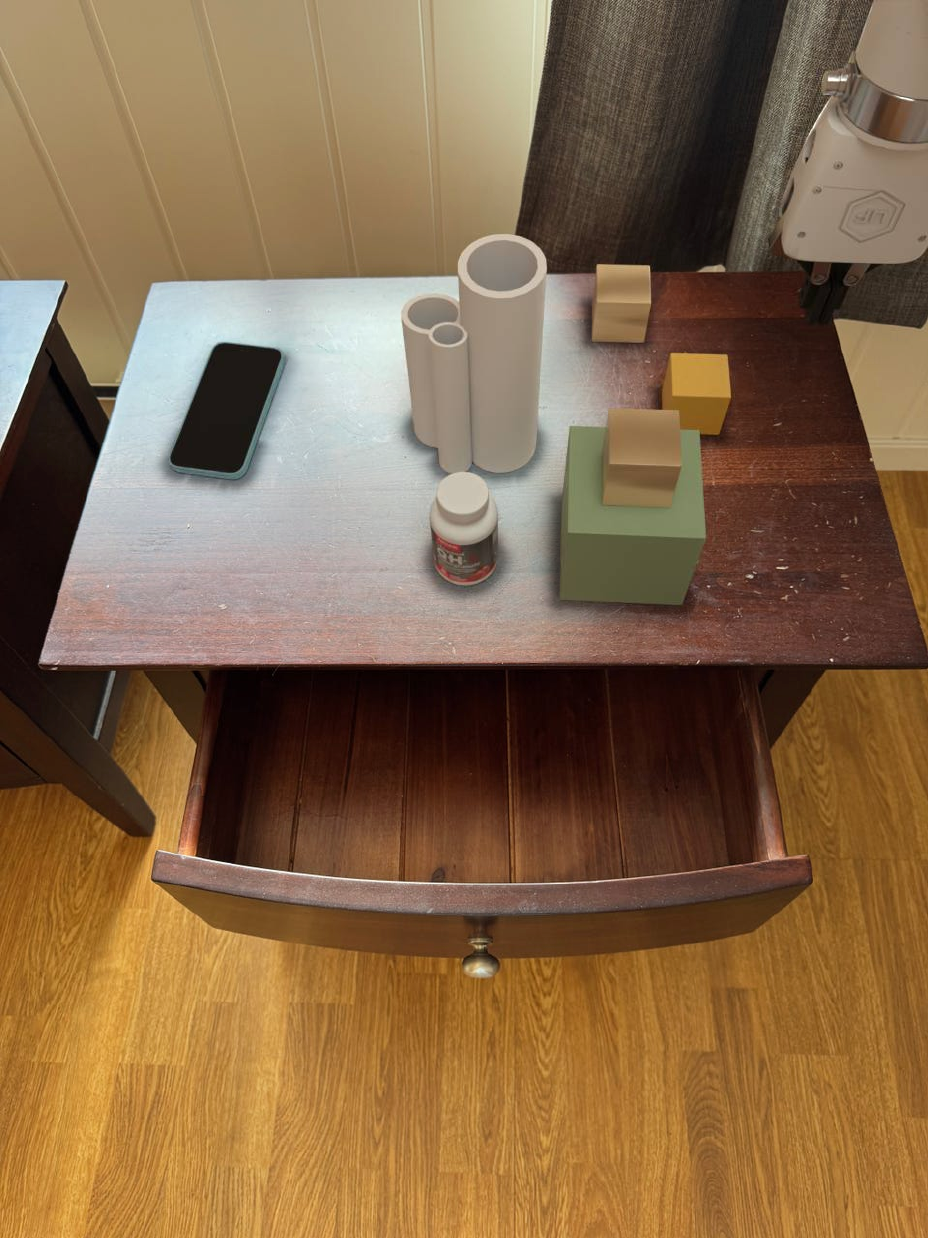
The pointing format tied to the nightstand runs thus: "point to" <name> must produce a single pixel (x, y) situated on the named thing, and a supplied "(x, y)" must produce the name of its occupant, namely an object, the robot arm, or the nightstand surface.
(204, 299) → the nightstand surface
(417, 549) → the nightstand surface
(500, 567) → the nightstand surface
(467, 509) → the pill bottle
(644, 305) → the far maple block
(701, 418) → the mustard block
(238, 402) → the smartphone
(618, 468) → the near maple block
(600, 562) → the stand
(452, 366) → the vase
